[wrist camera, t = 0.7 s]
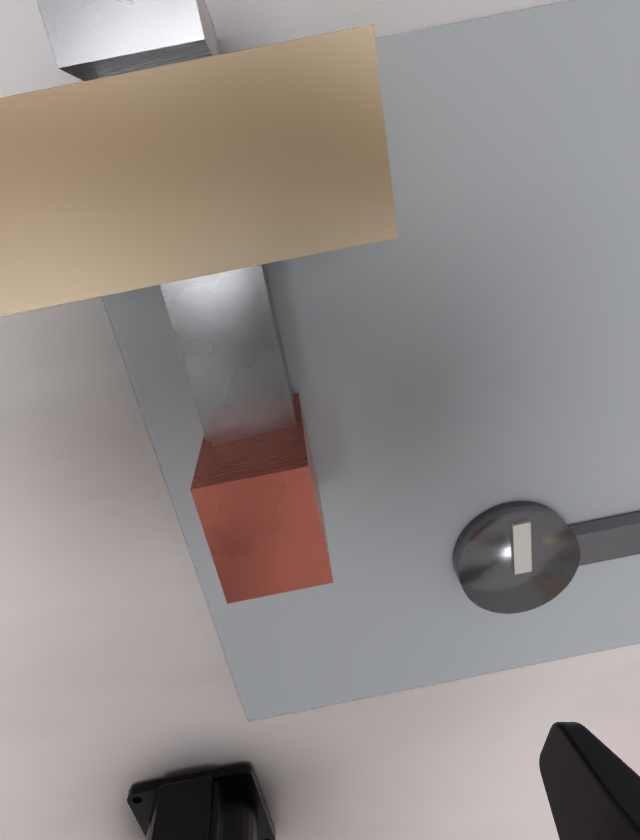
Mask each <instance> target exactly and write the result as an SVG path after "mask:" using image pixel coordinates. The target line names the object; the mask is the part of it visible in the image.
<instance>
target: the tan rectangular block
mask: <svg viewBox="0 0 640 840" xmlns="http://www.w3.org/2000/svg"><path fill="white" fill-rule="evenodd" d="M393 238H398V233H397V224H396V216H395V207H394V199H393V190H392V181H391V173H390V164H389V155H388V147H387V138H386V129H385V121H384V112H383V103H382V95H381V86H380V78H379V69H378V60H377V52H376V43H375V34H374V26H373V25H368V26H362V27H357V28H352V29H347V30H342V31H337V32H332V33H327V34H322V35H317V36H312V37H307V38H302V39H297V40H292V41H286V42H281V43H276V44H271V45H266V46H261V47H256V48H251V49H246V50H241V51H236V52H231V53H226V54H221V55H216V56H211V57H205V58H200V59H195V60H190V61H185V62H180V63H175V64H170V65H165V66H160V67H155V68H150V69H145V70H140V71H135V72H129V73H124V74H119V75H114V76H109V77H104V78H99V79H94V80H89V81H84V82H79V83H74V84H69V85H64V86H59V87H53V88H48V89H43V90H38V91H33V92H28V93H23V94H18V95H13V96H8V97H3V98H0V316H5V315H10V314H15V313H20V312H25V311H30V310H35V309H40V308H45V307H50V306H55V305H60V304H65V303H70V302H75V301H80V300H85V299H90V298H95V297H100V296H105V295H110V294H116V293H121V292H126V291H131V290H136V289H141V288H146V287H151V286H156V285H161V284H166V283H171V282H176V281H181V280H186V279H191V278H196V277H201V276H206V275H211V274H216V273H221V272H226V271H231V270H237V269H242V268H247V267H252V266H257V265H262V264H267V263H272V262H277V261H282V260H287V259H292V258H297V257H302V256H307V255H312V254H317V253H322V252H327V251H332V250H337V249H342V248H347V247H353V246H358V245H363V244H368V243H373V242H378V241H383V240H388V239H393Z"/></svg>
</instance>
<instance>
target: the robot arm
mask: <svg viewBox="0 0 640 840" xmlns="http://www.w3.org/2000/svg"><path fill="white" fill-rule="evenodd" d="M539 765H540V772H541V776H542V779H543V783H544V786H545V790H546V793H547V797H548V800H549V804H550V807H551V811H552V814H553V818H554V821H555V825H556V828H557V832H558V835H559V839H560V840H640V776H639V775H638V774H636V773H635V772H634V771H633V770H632V769H631V768H630V767H629V766H628V765H627V764H625V763H624V762H623V761H622V760H621V759H620V758H619V757H618V756H617V755H615V754H614V753H613V752H612V751H611V750H610V749H609V748H608V747H607V746H606V745H604V744H603V743H602V742H601V741H600V740H599V739H598V738H597V737H596V736H594V735H593V734H592V733H591V732H590V731H589V730H588V729H587V728H586V727H584V726H583V725H581V724H579V723H576V722H556V723H554V724H553V725H552V727H551V729H550V731H549V734H548V736H547V739H546V741H545V744H544V746H543V749H542V751H541V754H540V760H539ZM127 801H128V804H129V806H130V808H131V809H132V811H133V813H134V815H135V817H136V819H137V821H138V823H139V825H140V827H141V829H142V831H143V832H144V834H145V836H146V840H275V830H274V827H273V824H272V821H271V819H270V816H269V813H268V810H267V807H266V805H265V802H264V799H263V796H262V793H261V791H260V788H259V785H258V782H257V779H256V777H255V774H254V771H253V769H252V767H250V766H248V765H239V766H234V767H229V768H224V769H219V770H214V771H209V772H204V773H199V774H194V775H189V776H184V777H179V778H174V779H169V780H164V781H159V782H154V783H149V784H144V785H139V786H135V787H132V788H131V789H130V790H129V794H128V798H127Z"/></svg>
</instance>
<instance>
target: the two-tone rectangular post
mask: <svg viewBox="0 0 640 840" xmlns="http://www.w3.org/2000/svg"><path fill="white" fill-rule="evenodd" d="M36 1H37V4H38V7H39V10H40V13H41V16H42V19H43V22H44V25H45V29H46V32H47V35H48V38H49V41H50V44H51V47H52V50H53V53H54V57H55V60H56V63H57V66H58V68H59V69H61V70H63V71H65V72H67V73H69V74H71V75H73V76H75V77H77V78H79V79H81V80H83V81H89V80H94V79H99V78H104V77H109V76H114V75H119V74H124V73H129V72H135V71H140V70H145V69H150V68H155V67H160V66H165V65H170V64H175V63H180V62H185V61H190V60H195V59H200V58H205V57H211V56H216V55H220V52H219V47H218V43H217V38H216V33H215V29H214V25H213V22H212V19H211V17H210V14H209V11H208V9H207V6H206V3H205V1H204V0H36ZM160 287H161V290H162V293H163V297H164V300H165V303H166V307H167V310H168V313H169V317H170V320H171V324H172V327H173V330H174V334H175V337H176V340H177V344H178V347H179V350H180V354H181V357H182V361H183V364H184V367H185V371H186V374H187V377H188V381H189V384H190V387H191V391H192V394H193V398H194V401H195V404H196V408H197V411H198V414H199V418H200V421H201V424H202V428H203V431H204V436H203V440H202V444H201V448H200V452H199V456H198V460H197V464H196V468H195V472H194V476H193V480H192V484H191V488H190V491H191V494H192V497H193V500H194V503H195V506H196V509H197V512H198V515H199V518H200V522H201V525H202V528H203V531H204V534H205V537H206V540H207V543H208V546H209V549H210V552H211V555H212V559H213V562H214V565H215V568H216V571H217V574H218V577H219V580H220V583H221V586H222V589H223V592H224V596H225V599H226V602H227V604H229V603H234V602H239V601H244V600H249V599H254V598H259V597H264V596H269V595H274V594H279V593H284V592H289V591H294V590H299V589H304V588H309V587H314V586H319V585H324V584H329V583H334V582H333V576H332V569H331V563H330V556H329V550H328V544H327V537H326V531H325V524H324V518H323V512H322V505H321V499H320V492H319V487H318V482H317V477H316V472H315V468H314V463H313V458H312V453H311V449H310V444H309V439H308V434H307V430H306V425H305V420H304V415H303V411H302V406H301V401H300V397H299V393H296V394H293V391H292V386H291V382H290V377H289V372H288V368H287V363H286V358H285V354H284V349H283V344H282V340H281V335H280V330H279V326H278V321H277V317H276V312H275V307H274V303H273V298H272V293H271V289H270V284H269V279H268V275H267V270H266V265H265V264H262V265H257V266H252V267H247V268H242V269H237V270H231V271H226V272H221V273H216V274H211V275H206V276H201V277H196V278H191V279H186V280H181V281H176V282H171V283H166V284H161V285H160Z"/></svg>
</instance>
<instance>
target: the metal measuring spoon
mask: <svg viewBox="0 0 640 840" xmlns="http://www.w3.org/2000/svg"><path fill="white" fill-rule="evenodd" d="M638 554H640V512H635V513H630V514H625V515H620V516H615V517H610V518H605V519H600V520H595V521H590V522H585V523H580V524H575V525H570V526H568V525H567V524H566V523H565V521H564V520H563V519H562V518H561V517H560V516H559V515H558V514H557V512H555V511H554V510H553V509H551V508H550V507H548V506H546V505H543V504H541V503H537V502H533V501H512V502H506V503H502V504H499V505H496V506H494V507H491V508H489V509H487V510H485V511H484V512H482V513H481V514H479V515H478V516H477V517H475V518H474V519H473V520H472V521H471V522H470V523H469V524H468V525H467V526H466V527H465V528H464V529H463V531H462V532H461V534H460V535H459V537H458V539H457V541H456V544H455V547H454V551H453V566H454V570H455V573H456V575H457V578H458V580H459V582H460V584H461V586H462V588H463V590H464V592H465V594H466V595H467V597H468V598H469V599H470V600H471V601H472V602H473V603H474V604H476V605H477V606H479V607H480V608H483V609H485V610H487V611H491V612H495V613H502V614H513V613H521V612H525V611H529V610H532V609H535V608H537V607H540V606H542V605H544V604H546V603H547V602H549V601H551V600H552V599H554V598H555V597H556V596H558V595H559V594H560V593H561V592H562V591H563V590H564V589H565V588H566V587H567V586H568V584H569V583H570V582H571V580H572V579H573V577H574V575H575V573H576V571H577V568H578V566H583V565H588V564H593V563H598V562H603V561H608V560H613V559H618V558H623V557H628V556H633V555H638Z"/></svg>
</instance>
